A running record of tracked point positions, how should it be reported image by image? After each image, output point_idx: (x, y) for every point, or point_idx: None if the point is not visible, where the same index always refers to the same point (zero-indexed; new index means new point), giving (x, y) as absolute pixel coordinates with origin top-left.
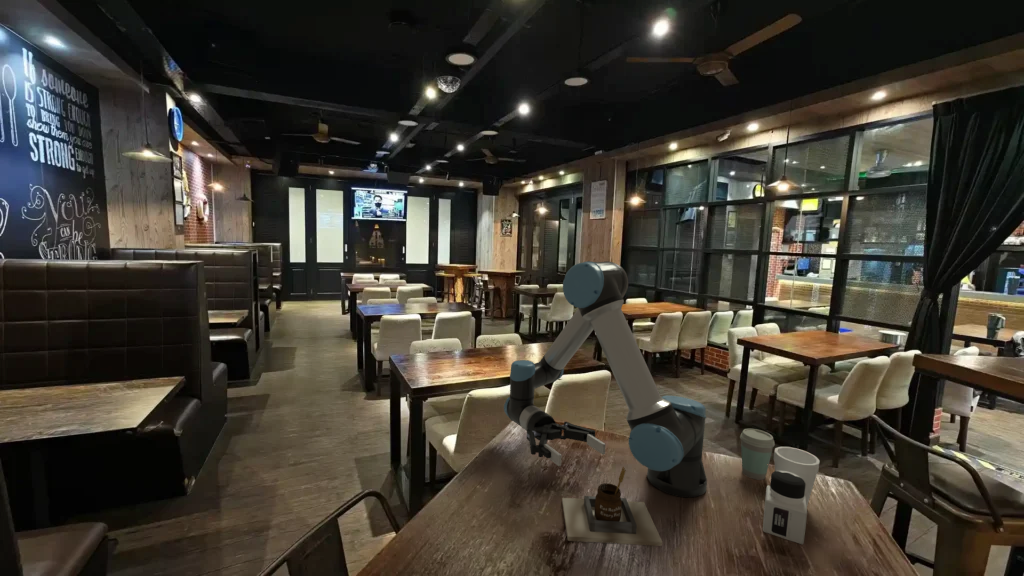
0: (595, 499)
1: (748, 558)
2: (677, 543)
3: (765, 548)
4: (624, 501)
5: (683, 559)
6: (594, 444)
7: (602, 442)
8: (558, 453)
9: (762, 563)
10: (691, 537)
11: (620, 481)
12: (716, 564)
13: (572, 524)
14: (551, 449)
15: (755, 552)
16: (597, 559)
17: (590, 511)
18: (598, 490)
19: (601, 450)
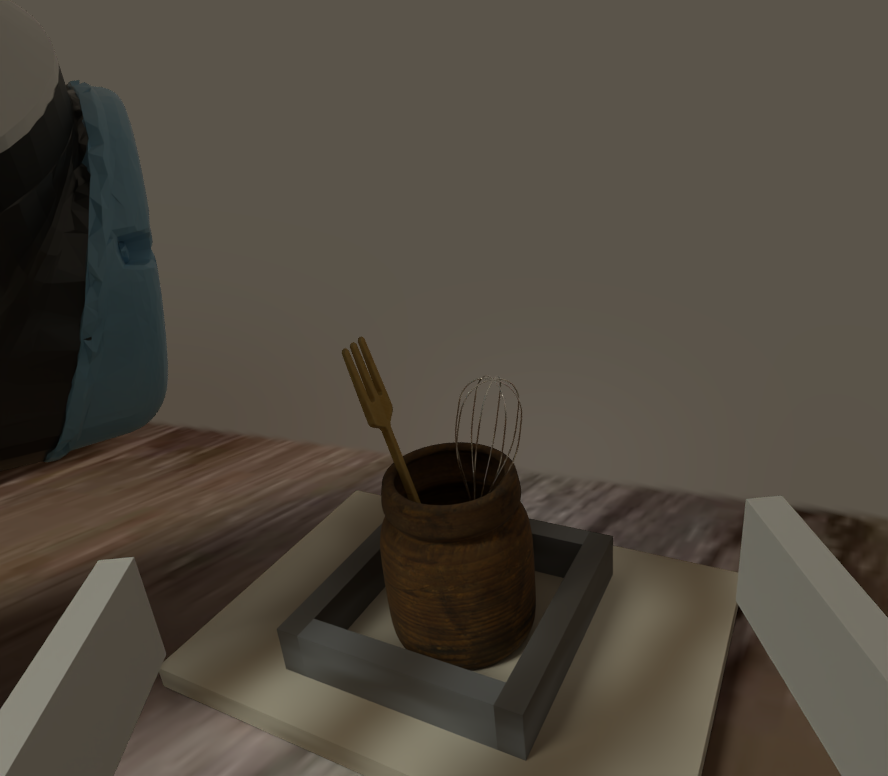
0: (523, 556)
1: (177, 444)
2: (294, 504)
3: (87, 455)
4: (312, 611)
5: (348, 466)
6: (84, 745)
7: (87, 588)
8: (779, 522)
9: (168, 432)
10: (218, 512)
11: (390, 411)
12: (280, 445)
13: (689, 628)
14: (873, 608)
15: (131, 451)
16: (640, 508)
17: (568, 590)
18: (515, 484)
19: (149, 639)
